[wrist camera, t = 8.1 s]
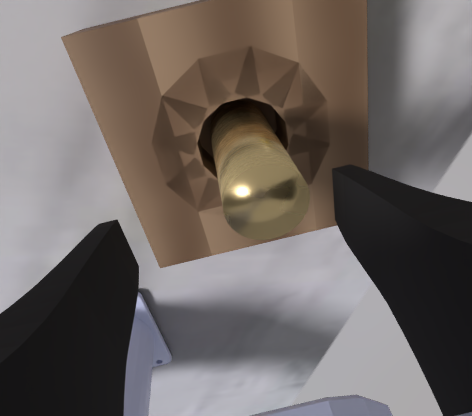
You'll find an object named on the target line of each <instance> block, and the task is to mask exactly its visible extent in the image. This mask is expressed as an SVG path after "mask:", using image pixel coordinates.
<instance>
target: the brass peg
mask: <svg viewBox="0 0 472 416" xmlns="http://www.w3.org/2000/svg"><path fill="white" fill-rule="evenodd" d="M209 131H210V137H211V143H212V149H213V155H214V160H215V166H216V172H217V178H218V183H219V189H220V195H221V201H222V206H223V212H224V216H225V219H226V221H227V223H228V224H229V225H230V227H231V228H232V229H233V230H234V231H235V232H237V233H238V234H240V235H242V236H244V237H247V238H250V239H255V240H269V239H274V238H277V237H280V236H282V235H285V234H286V233H288V232H290V231H291V230H293V229H294V228H295V227H296V226H297V225H298V224H299V223H300V222H301V221H302V219H303V218H304V216H305V214H306V213H307V210H308V207H309V203H310V192H309V188H308V185H307V183H306V181H305V180H304V178H303V176H302V175H301V173H300V172H299V170H298V169H297V167H296V165H295V164H294V162H293V161H292V159H291V158H290V156H289V154H288V153H287V151H286V150H285V148H284V146H283V145H282V143H281V142H280V140H279V139H278V137H277V135H276V134H275V132H274V131H273V129H272V128H271V126H270V124H269V123H268V121H267V120H266V118H265V117H264V115H263V113H262V112H261V110H260V109H259V108H258V107H257V106H256V105H255V104H253V103H251V102H249V101H246V100H241V99H238V100H234V101H230V102H226V103H224V104H222V105H221V106H219V107H218V108H217V109H216V111H215V112H214V113H213V115H212V117H211V120H210V125H209Z"/></svg>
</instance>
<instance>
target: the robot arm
mask: <svg viewBox="0 0 472 416" xmlns="http://www.w3.org/2000/svg"><path fill="white" fill-rule="evenodd" d="M332 180H333V196H334V213H335V221H336V223H337V225H338V227H339V229H340V231H341V233H342V235H343V237H344V239H345V241H346V243H347V245H348V246H349V248H350V249H351V251H352V252H353V254H354V255H355V256H356V258H357V259H358V261H359V262H360V264H361V265H362V267H363V268H364V269H365V271H366V272H367V274H368V275H369V277H370V278H371V280H372V281H373V282H374V284H375V285H376V287H377V288H378V290H379V291H380V293H381V294H382V296H383V297H384V299H385V300H386V302H387V303H388V305H389V307H390V309H391V311H392V313H393V315H394V316H395V318H396V320H397V322H398V324H399V326H400V328H401V329H402V331H403V333H404V335H405V337H406V339H407V341H408V343H409V345H410V347H411V349H412V351H413V353H414V355H415V357H416V359H417V361H418V363H419V365H420V367H421V369H422V371H423V373H424V375H425V377H426V380H427V381H428V384H429V386H430V388H431V390H432V392H433V394H434V396H435V398H436V400H437V403H438V405H439V407H440V409H441V412H442V414H443V416H472V202H469V201H464V200H460V199H455V198H451V197H446V196H443V195H439V194H435V193H432V192H428V191H425V190H422V189H419V188H415V187H412V186H409V185H406V184H403V183H401V182H398V181H395V180H392V179H390V178H387V177H384V176H382V175H379V174H376V173H374V172H371V171H369V170H366V169H363V168H360V167H358V166H354V165H351V164H349V165H345V166H341V167H337V168H332ZM138 285H139V266H138V264H137V261H136V259H135V257H134V255H133V253H132V250H131V248H130V246H129V244H128V242H127V239H126V237H125V235H124V233H123V231H122V229H121V226H120V224H119V222H118V220H113V221H109V222H105V223H101V224H99V225H97V226H96V227H95V228H94V229H93V230H92V231H91V232H90V233H89V234H88V235H87V236H86V237H85V238H84V239H83V240H82V241H81V242H80V243H79V244H78V245H77V246H76V247H75V248H74V249H73V250H72V251H71V252H70V253H69V254H68V255H67V256H66V257H65V258H64V259H63V260H62V261H61V262H60V263H59V264H58V265H57V266H56V267H55V268H54V269H53V270H52V271H50V272H49V273H48V274H47V275H46V276H45V277H44V278H43V279H42V280H41V281H40V282H39V283H38V284H37V285H35V286H34V287H33V288H32V289H31V290H30V291H29V292H27V293H26V294H25V295H24V296H23V297H21V298H20V299H19V300H18V301H16V302H15V303H14V304H13V305H11V306H10V307H9V308H8V309H6V310H5V311H4V312H2V313H1V314H0V416H148V414H149V402H150V391H151V379H152V367H156V366H160V365H164V364H168V363H170V362H171V360H172V356H171V353H170V351H169V349H168V347H167V345H166V343H165V341H164V339H163V337H162V335H161V333H160V331H159V329H158V327H157V325H156V323H155V321H154V319H153V317H152V315H151V313H150V311H149V309H148V307H147V305H146V303H145V301H144V299H143V297H142V295H141V293H139V292H138ZM251 416H393V415H392V413H391V411H390V409H389V407H388V405H385V404H383V403H380V402H377V401H374V400H371V399H368V398H365V397H362V396H359V395H350V396H338V397H326V398H322V399H318V400H314V401H309V402H305V403H301V404H297V405H293V406H288V407H284V408H280V409H276V410H272V411H267V412H263V413H259V414H255V415H251Z"/></svg>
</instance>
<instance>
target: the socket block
mask: <svg viewBox="0 0 472 416" xmlns="http://www.w3.org/2000/svg"><path fill="white" fill-rule="evenodd" d="M61 38H62V41H63V43H64V45H65V48H66V50H67V52H68V55H69V57H70V59H71V62H72V64H73V66H74V69H75V71H76V73H77V76H78V78H79V80H80V83H81V85H82V87H83V90H84V92H85V94H86V97H87V99H88V101H89V104H90V106H91V108H92V111H93V113H94V115H95V118H96V120H97V122H98V125H99V127H100V129H101V132H102V134H103V136H104V139H105V141H106V143H107V146H108V148H109V150H110V153H111V155H112V157H113V160H114V162H115V164H116V167H117V169H118V171H119V174H120V176H121V178H122V181H123V183H124V185H125V188H126V190H127V192H128V195H129V197H130V199H131V201H132V204H133V206H134V208H135V211H136V213H137V215H138V218H139V220H140V222H141V225H142V227H143V229H144V232H145V234H146V236H147V239H148V241H149V243H150V246H151V248H152V250H153V253H154V255H155V257H156V260H157V262H158V264H159V267H160V268H163V267H167V266H171V265H175V264H179V263H184V262H188V261H192V260H196V259H200V258H204V257H208V256H212V255H216V254H221V253H225V252H229V251H233V250H237V249H241V248H245V247H249V246H253V245H258V244H262V243H266V242H270V241H274V240H278V239H282V238H286V237H291V236H295V235H299V234H303V233H307V232H311V231H315V230H319V229H323V228H328V227H332V226H336V225H337V223H336V221H335V213H334V196H333V180H332V168H337V167H341V166H345V165H349V164H351V165H354V166H358V167H360V168H363V169H366V170H368V62H367V0H199V1H195V2H191V3H187V4H183V5H179V6H175V7H171V8H167V9H163V10H159V11H155V12H151V13H147V14H143V15H139V16H135V17H130V18H126V19H122V20H118V21H114V22H110V23H106V24H102V25H98V26H94V27H90V28H86V29H82V30H80V31H77V32H74V33H72V34H69V35H66V36H64V37H61ZM238 99H241V100H246V101H249V102H251V103H253V104H255V105H256V106H257V107H258V108H259V109H260V110H261V112H262V113H263V115H264V117H265V118H266V120H267V121H268V123H269V124H270V126H271V128H272V129H273V131H274V132H275V134H276V135H277V137H278V139H279V140H280V142H281V143H282V145H283V146H284V148H285V150H286V151H287V153H288V154H289V156H290V158H291V159H292V161H293V162H294V164H295V165H296V167H297V169H298V170H299V172H300V173H301V175H302V176H303V178H304V180H305V181H306V183H307V185H308V188H309V192H310V203H309V207H308V210H307V213H306V214H305V216H304V218H303V219H302V221H301V222H300V223H299V224H298V225H297V226H296V227H295V228H294V229H293V230H291V231H290V232H288V233H286V234H285V235H282V236H280V237H277V238H274V239H269V240H255V239H250V238H247V237H244V236H242V235H240V234H238V233H237V232H235V231H234V230H233V229H232V228H231V227H230V225H229V224H228V223H227V221H226V219H225V216H224V212H223V206H222V201H221V195H220V189H219V183H218V178H217V172H216V166H215V160H214V155H213V149H212V143H211V137H210V131H209V125H210V120H211V117H212V115H213V113H214V112H215V111H216V109H217V108H218V107H219V106H221V105H222V104H224V103H226V102H230V101H234V100H238Z"/></svg>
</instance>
